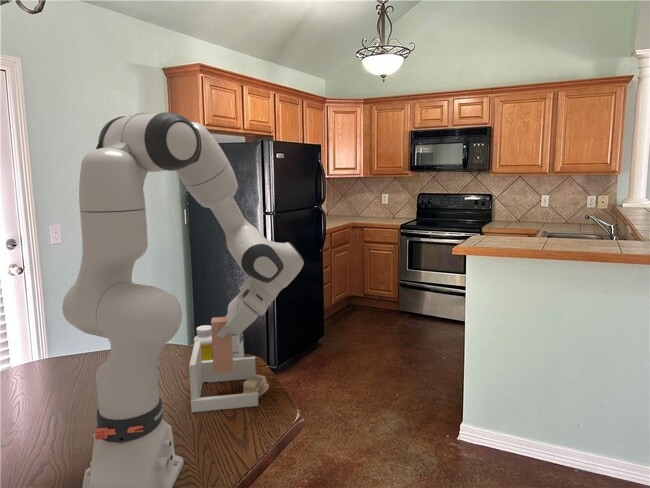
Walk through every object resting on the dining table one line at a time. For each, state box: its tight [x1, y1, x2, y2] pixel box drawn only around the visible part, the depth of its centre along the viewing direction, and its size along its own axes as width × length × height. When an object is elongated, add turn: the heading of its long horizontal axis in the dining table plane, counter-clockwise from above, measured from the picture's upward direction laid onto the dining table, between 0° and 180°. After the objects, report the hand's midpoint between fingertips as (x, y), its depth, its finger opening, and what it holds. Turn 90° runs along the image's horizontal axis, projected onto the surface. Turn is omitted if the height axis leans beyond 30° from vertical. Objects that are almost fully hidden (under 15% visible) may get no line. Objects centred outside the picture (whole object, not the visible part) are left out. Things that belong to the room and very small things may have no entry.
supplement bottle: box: [193, 324, 213, 361], centre depth 141 cm, size 7×7×13 cm
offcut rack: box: [188, 341, 259, 413], centre depth 125 cm, size 18×16×12 cm
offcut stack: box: [241, 373, 270, 399], centre depth 125 cm, size 8×4×4 cm, turn 159°
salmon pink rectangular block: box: [210, 316, 233, 374], centre depth 124 cm, size 4×5×14 cm
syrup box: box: [232, 331, 245, 358], centre depth 143 cm, size 6×6×14 cm
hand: (219, 332), depth 124 cm, fingers closed on salmon pink rectangular block, 4 cm apart
